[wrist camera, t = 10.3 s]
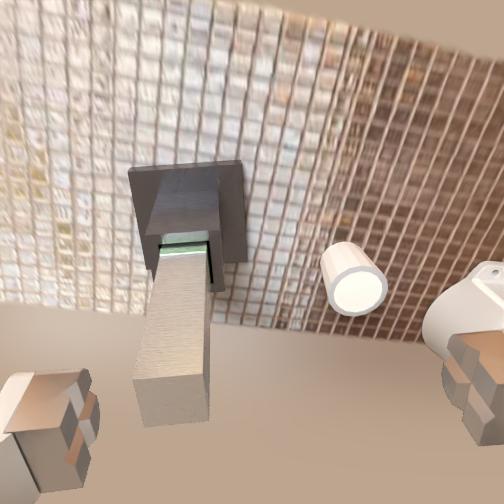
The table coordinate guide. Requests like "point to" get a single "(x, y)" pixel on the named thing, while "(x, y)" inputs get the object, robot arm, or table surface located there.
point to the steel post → (176, 339)
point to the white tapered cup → (352, 280)
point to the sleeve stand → (191, 211)
